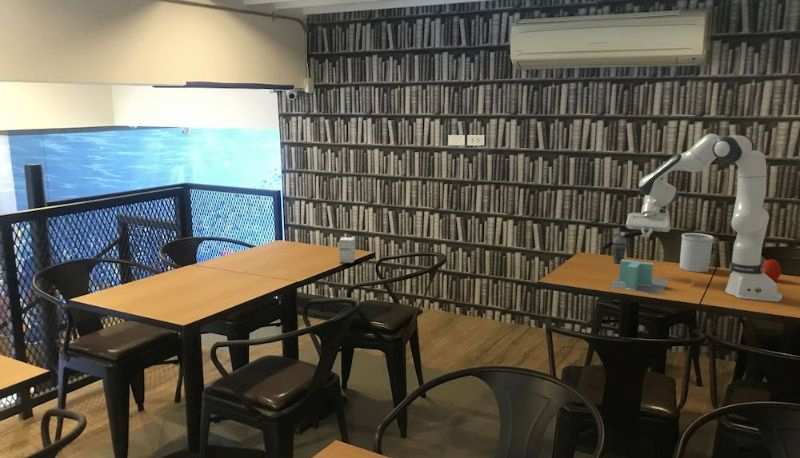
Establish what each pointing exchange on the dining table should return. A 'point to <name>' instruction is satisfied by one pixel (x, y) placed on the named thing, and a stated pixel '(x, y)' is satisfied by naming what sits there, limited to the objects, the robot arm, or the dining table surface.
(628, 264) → the tee block
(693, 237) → the utensil holder
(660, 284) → the slate board
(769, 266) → the apple
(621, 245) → the beverage cup
